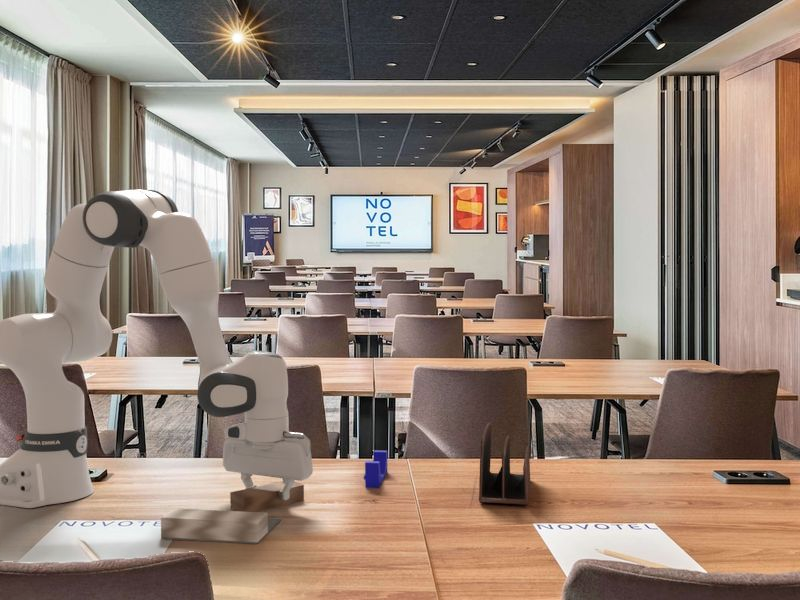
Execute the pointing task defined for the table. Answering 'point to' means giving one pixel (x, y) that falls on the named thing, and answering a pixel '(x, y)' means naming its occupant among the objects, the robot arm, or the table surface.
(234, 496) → the walnut plank
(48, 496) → the robot arm
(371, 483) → the cable clip
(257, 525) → the beige wooden block
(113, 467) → the table surface
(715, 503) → the table surface
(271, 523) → the underlay mat
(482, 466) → the letter holder
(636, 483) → the table surface
